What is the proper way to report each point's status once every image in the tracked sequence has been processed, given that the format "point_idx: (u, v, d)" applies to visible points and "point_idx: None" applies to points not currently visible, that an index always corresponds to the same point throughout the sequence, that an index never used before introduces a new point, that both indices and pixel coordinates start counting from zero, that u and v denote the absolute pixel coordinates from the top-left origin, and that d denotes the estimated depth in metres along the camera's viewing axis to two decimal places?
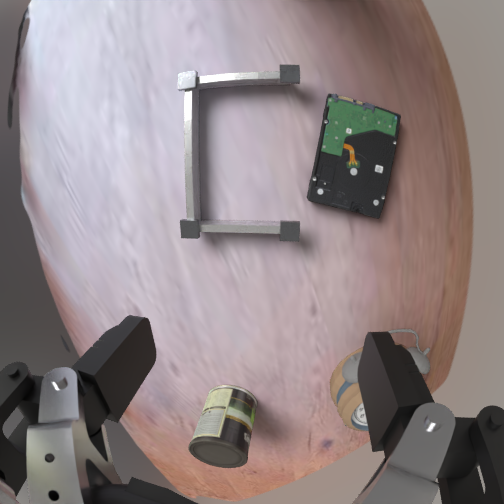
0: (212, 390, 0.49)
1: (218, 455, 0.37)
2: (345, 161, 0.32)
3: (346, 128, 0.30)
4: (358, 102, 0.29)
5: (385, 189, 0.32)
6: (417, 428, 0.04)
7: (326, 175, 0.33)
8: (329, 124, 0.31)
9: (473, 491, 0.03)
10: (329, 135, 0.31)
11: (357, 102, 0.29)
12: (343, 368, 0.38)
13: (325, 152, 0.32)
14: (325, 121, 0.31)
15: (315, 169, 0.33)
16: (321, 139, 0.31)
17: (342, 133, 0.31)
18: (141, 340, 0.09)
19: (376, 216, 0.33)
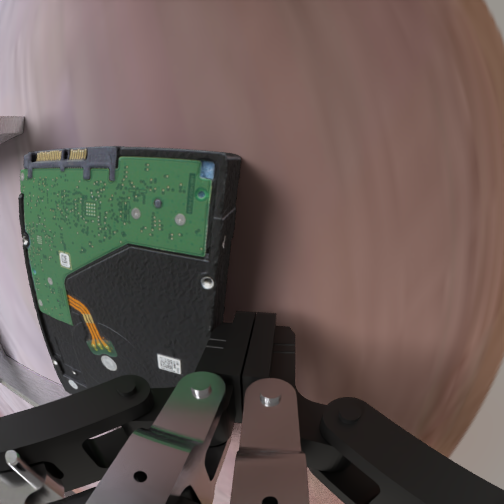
0: None
1: None
2: (84, 340, 0.11)
3: (58, 252, 0.09)
4: (74, 155, 0.08)
5: None
6: (254, 408, 0.05)
7: (69, 357, 0.12)
8: (31, 247, 0.10)
9: (368, 476, 0.05)
10: (38, 275, 0.10)
11: (71, 156, 0.08)
12: None
13: (48, 314, 0.11)
14: (24, 238, 0.10)
15: (48, 345, 0.12)
16: (31, 285, 0.10)
17: (55, 267, 0.10)
18: None
19: None
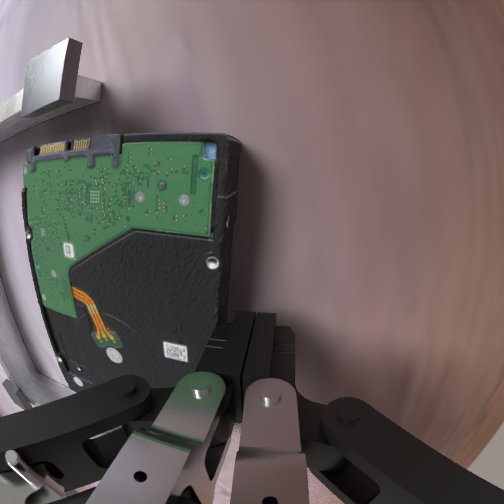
0: None
1: None
2: (89, 332, 0.11)
3: (62, 243, 0.10)
4: (78, 145, 0.08)
5: None
6: (254, 408, 0.05)
7: (74, 353, 0.12)
8: (34, 240, 0.10)
9: (368, 476, 0.05)
10: (42, 269, 0.10)
11: (75, 147, 0.08)
12: None
13: (52, 308, 0.11)
14: (28, 232, 0.10)
15: (52, 342, 0.12)
16: (34, 280, 0.11)
17: (59, 259, 0.10)
18: None
19: None
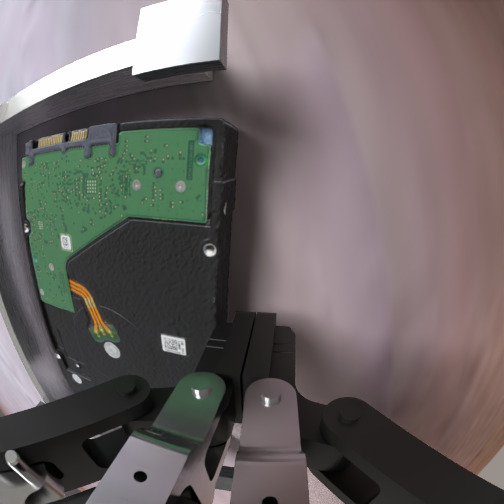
0: None
1: None
2: (87, 326, 0.11)
3: (59, 235, 0.09)
4: (75, 136, 0.08)
5: None
6: (254, 408, 0.05)
7: (72, 349, 0.12)
8: (32, 233, 0.10)
9: (368, 476, 0.05)
10: (39, 263, 0.10)
11: (72, 138, 0.08)
12: None
13: (50, 303, 0.11)
14: (26, 226, 0.10)
15: (51, 338, 0.12)
16: (32, 275, 0.10)
17: (57, 251, 0.10)
18: None
19: None
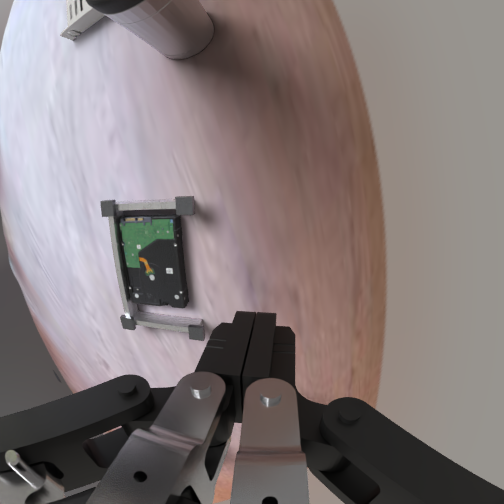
0: None
1: None
2: (144, 271, 0.41)
3: (136, 245, 0.40)
4: (139, 219, 0.39)
5: (180, 285, 0.41)
6: (254, 408, 0.05)
7: (136, 283, 0.43)
8: (125, 245, 0.40)
9: (368, 476, 0.05)
10: (127, 254, 0.41)
11: (138, 219, 0.39)
12: None
13: (130, 267, 0.42)
14: (122, 243, 0.40)
15: (128, 281, 0.42)
16: (124, 258, 0.41)
17: (135, 249, 0.40)
18: None
19: (181, 307, 0.42)
